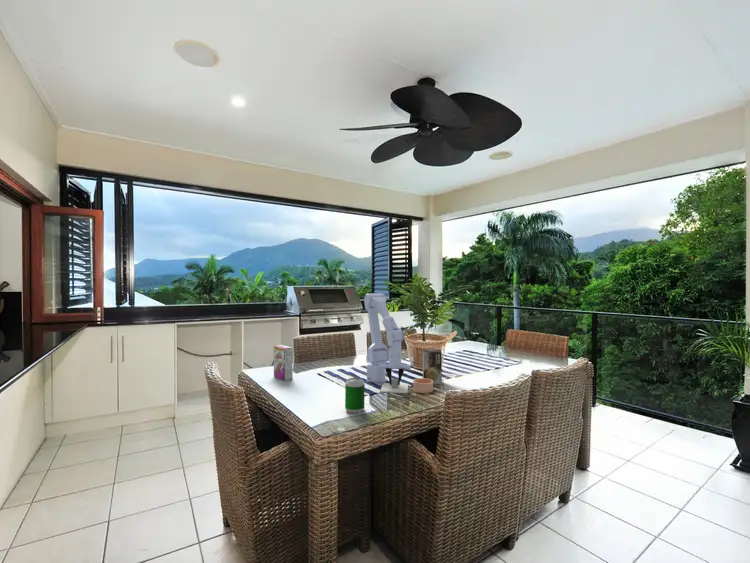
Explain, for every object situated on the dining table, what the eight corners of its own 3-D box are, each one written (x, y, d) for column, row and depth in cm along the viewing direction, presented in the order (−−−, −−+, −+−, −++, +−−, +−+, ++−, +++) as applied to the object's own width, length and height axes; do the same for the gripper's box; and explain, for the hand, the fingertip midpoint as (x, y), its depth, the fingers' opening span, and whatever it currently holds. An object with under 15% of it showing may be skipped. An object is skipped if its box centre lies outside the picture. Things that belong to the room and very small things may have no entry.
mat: (379, 393, 157) (379, 392, 157) (382, 384, 170) (382, 383, 170) (408, 394, 155) (408, 393, 155) (409, 385, 168) (409, 384, 168)
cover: (380, 392, 157) (380, 382, 157) (383, 384, 169) (383, 375, 169) (407, 393, 156) (407, 383, 156) (408, 385, 168) (408, 376, 168)
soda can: (368, 410, 137) (368, 379, 137) (354, 416, 131) (354, 384, 131) (354, 405, 142) (354, 376, 142) (341, 410, 136) (341, 380, 136)
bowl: (413, 393, 157) (413, 383, 157) (413, 387, 166) (413, 377, 166) (433, 394, 156) (433, 384, 156) (432, 388, 165) (432, 378, 165)
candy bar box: (273, 377, 182) (273, 345, 182) (281, 375, 186) (281, 344, 186) (284, 381, 174) (284, 348, 174) (293, 379, 178) (293, 347, 178)
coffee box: (440, 381, 176) (441, 349, 176) (441, 385, 170) (442, 351, 170) (422, 380, 177) (422, 348, 177) (422, 384, 171) (423, 351, 171)
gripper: (378, 356, 159) (378, 386, 159) (410, 357, 158) (410, 388, 158) (380, 353, 166) (379, 382, 166) (410, 354, 165) (410, 383, 165)
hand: (394, 384), depth 163 cm, fingers open, 3 cm apart
